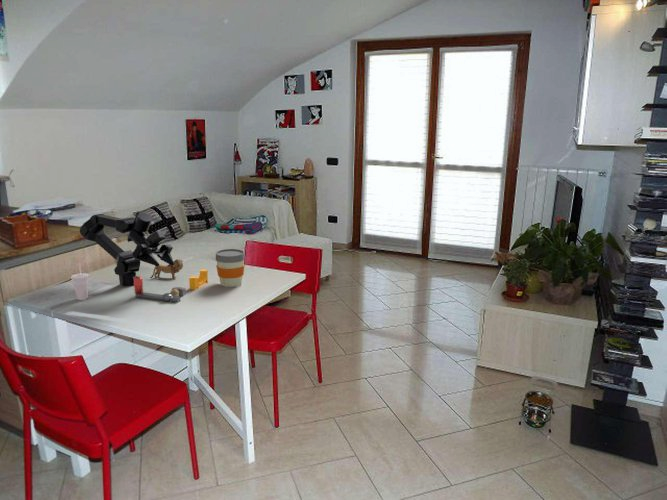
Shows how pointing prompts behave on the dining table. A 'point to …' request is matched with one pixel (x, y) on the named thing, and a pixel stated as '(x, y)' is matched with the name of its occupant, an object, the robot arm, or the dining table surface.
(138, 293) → the lever
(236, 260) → the reusable coffee cup
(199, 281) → the pipe clamp
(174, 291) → the tan rounded piece
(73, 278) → the smoothie
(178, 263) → the lion figurine
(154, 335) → the dining table surface
